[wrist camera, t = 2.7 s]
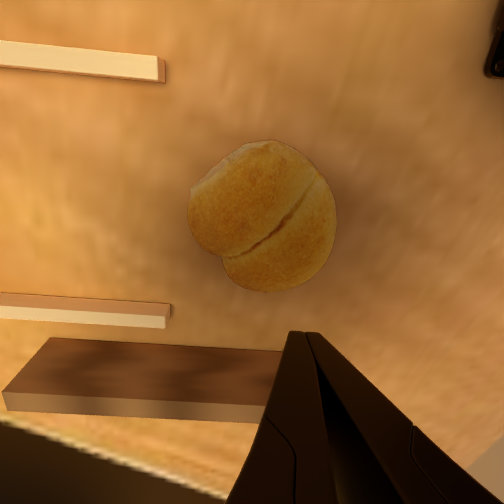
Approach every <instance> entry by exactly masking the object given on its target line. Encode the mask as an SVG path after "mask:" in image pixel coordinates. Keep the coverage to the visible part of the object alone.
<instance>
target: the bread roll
mask: <svg viewBox="0 0 504 504" xmlns="http://www.w3.org/2000/svg"><path fill="white" fill-rule="evenodd" d="M190 193H191V195H190V202H189V206H188V214H187V218H188V223H189V226H190V229H191V231H192V234H193V236H194V238H195V239H196V241H197V242H198V244H199V245H200V246H201V247H203V248H204V249H205V250H207V251H208V252H210V253H212V254H216V255H220V256H221V257H222V260H223V265H224V268H225V271H226V272H227V274H228V276H229V277H230V278H231V279H232V280H233V281H234V282H235V283H236V284H238V285H240V286H241V287H244V288H246V289H250V290H253V291H258V292H276V291H282V290H286V289H290V288H293V287H296V286H298V285H300V284H302V283H304V282H306V281H307V280H309V279H310V278H312V277H313V276H314V275H315V274H316V273H317V272H318V271H319V270H320V269H321V268H322V267H323V265H324V264H325V262H326V260H327V259H328V257H329V255H330V252H331V250H332V247H333V243H334V240H335V235H336V230H337V219H336V204H335V200H334V197H333V194H332V192H331V190H330V188H329V186H328V184H327V182H326V180H325V179H324V178H323V177H322V175H321V174H320V173H319V172H318V171H317V170H316V168H315V167H314V166H313V165H312V163H310V162H309V160H308V159H307V158H306V157H305V156H303V155H302V154H301V153H299V152H298V151H296V150H295V149H293V148H291V147H290V146H288V145H286V144H283V143H281V142H278V141H274V140H267V141H258V142H253V143H245V144H244V145H243V146H241V147H239V148H238V149H236V150H235V151H234V152H232V153H231V154H229V155H228V156H226V157H225V158H224V159H223V160H221V161H220V162H219V163H218V164H217V165H216V166H214V167H212V169H210V170H209V171H208V172H207V174H206V175H205V176H204V177H203V178H201V179H200V180H198V182H197V183H196V184H195V185H194V186H193V187H192V188H191V189H190Z"/></svg>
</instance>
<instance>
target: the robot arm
mask: <svg viewBox="0 0 504 504" xmlns="http://www.w3.org/2000/svg"><path fill="white" fill-rule="evenodd" d="M497 62H499V64H500V65H499V69H498V70H497V71H496V70H495V65H496V63H497ZM485 74H486V75H487V76H488V77H490V78H499V79H504V7H503V10H502V13H501V16H500V19H499V22H498V30H497V33H496V36H495V39H494V42H493V45H492V47H491V50H490V53H489V56H488V59H487V62H486V65H485ZM225 504H504V503H502V502H501V501H500V500H499V499H498V498H496V497H495V496H494V495H493V494H492V493H491V492H489V491H488V490H487V489H486V488H484V487H483V486H482V485H481V484H480V483H479V482H478V481H476V480H475V479H474V478H473V477H472V476H471V475H469V474H468V473H467V472H466V471H465V470H464V469H463V468H461V467H460V466H459V465H458V464H457V463H456V462H454V461H453V460H452V459H451V458H450V457H449V456H448V455H447V454H446V453H445V452H443V451H442V450H441V449H440V448H439V447H438V446H437V445H436V444H435V443H434V442H433V441H432V440H431V439H429V438H428V437H427V436H426V435H425V434H424V433H423V432H422V431H421V430H420V429H419V428H418V427H417V426H415V425H414V426H413V422H412V421H411V420H409V419H408V418H407V417H406V416H405V415H404V414H403V413H402V412H401V411H400V410H399V409H398V408H397V407H396V406H395V405H394V404H393V403H392V402H391V401H390V400H389V399H388V398H387V397H386V396H385V395H383V394H382V393H381V392H380V391H379V390H378V389H377V388H376V387H375V386H374V385H373V384H372V383H371V382H370V381H369V380H368V379H367V378H366V377H365V376H364V375H363V374H362V373H361V372H360V371H359V370H357V369H356V368H355V367H354V366H353V365H352V364H351V363H350V362H349V361H348V360H347V359H346V358H345V357H344V356H343V355H342V354H341V353H340V352H339V351H338V350H337V349H336V348H335V347H334V346H332V345H331V344H330V343H329V342H328V341H327V340H326V339H325V338H324V337H323V336H322V335H321V334H320V333H318V332H305V333H304V332H302V331H290V332H289V334H288V337H287V340H286V343H285V346H284V349H283V352H282V356H281V359H280V362H279V365H278V368H277V371H276V374H275V378H274V381H273V384H272V387H271V390H270V393H269V396H268V399H267V403H266V406H265V409H264V412H263V415H262V418H261V421H260V424H259V427H258V430H257V433H256V436H255V438H254V441H253V444H252V447H251V449H250V452H249V454H248V456H247V458H246V461H245V463H244V465H243V467H242V469H241V472H240V474H239V476H238V478H237V480H236V482H235V484H234V486H233V488H232V490H231V492H230V494H229V496H228V498H227V500H226V502H225Z"/></svg>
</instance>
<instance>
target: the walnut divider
mask: <svg viewBox="0 0 504 504" xmlns="http://www.w3.org/2000/svg"><path fill="white" fill-rule="evenodd" d="M281 356H282V352H275V351H258V350H242V349H226V348H210V347H193V346H177V345H161V344H145V343H128V342H112V341H96V340H80V339H63V338H49V339H48V340H47V342H46V343H45V344H44V345H43V346H42V347H41V348H40V349H39V351H38V352H37V353H36V354H35V355H34V356H33V357H32V358H31V359H30V361H29V362H28V363H27V364H26V365H25V366H24V367H23V368H22V370H21V371H20V372H19V373H18V374H17V375H16V376H15V377H14V379H13V380H12V381H11V382H10V383H9V384H8V385H7V386H6V387H5V389H4V390H3V391H2V395H3V398H4V401H5V405H6V408H7V411H22V412H41V413H61V414H80V415H100V416H120V417H139V418H159V419H179V420H198V421H218V422H237V423H257V424H260V421H261V418H262V415H263V412H264V409H265V406H266V403H267V399H268V396H269V393H270V390H271V387H272V384H273V381H274V378H275V374H276V371H277V368H278V365H279V362H280V359H281Z"/></svg>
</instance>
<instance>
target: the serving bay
mask: <svg viewBox="0 0 504 504" xmlns="http://www.w3.org/2000/svg"><path fill="white" fill-rule="evenodd" d="M0 67H9V68H19V69H29V70H39V71H50V72H60V73H70V74H80V75H90V76H100V77H110V78H120V79H131V80H141V81H151V82H161V83H165V61H164V60H162V59H160V58H159V57H157V56H150V55H140V54H130V53H120V52H111V51H101V50H91V49H81V48H72V47H62V46H52V45H42V44H32V43H23V42H13V41H3V40H0ZM0 318H6V319H22V320H38V321H53V322H69V323H85V324H100V325H116V326H132V327H147V328H163V329H165V328H166V325H167V323H168V320H169V318H170V304H161V303H146V302H131V301H117V300H102V299H87V298H72V297H57V296H42V295H28V294H13V293H0Z"/></svg>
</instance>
